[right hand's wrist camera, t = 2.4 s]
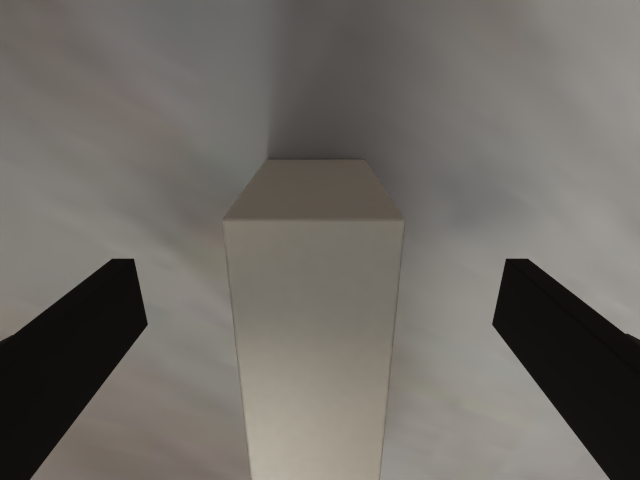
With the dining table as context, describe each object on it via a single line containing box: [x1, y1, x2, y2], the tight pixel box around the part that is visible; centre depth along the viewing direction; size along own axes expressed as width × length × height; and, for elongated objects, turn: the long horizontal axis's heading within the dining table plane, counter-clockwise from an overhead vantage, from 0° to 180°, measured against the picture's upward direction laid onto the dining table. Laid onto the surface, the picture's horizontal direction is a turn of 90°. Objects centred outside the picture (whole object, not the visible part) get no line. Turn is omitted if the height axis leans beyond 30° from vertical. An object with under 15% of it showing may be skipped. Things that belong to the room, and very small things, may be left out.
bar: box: [222, 160, 405, 480], centre depth 18 cm, size 24×5×9 cm, turn 0°
